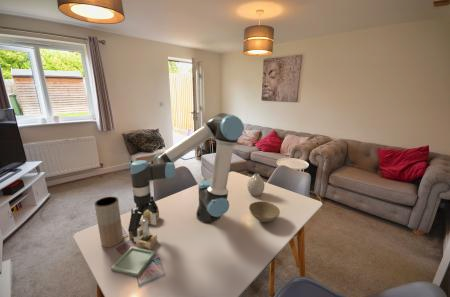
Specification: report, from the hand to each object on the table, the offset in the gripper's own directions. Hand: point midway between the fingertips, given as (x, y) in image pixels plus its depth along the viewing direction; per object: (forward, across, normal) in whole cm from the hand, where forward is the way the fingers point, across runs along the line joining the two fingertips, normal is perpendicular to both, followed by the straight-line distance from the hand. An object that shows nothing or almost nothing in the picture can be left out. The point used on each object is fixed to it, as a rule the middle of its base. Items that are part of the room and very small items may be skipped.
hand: (145, 232), depth 100 cm
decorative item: (+7, -19, -10) cm, 23 cm away
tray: (+7, +11, +1) cm, 13 cm away
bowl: (+7, -36, +56) cm, 67 cm away
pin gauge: (+7, 0, 0) cm, 7 cm away
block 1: (+7, -5, -8) cm, 12 cm away
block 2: (+7, 0, 0) cm, 7 cm away
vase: (+7, -68, +48) cm, 84 cm away
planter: (+7, +2, -19) cm, 20 cm away
